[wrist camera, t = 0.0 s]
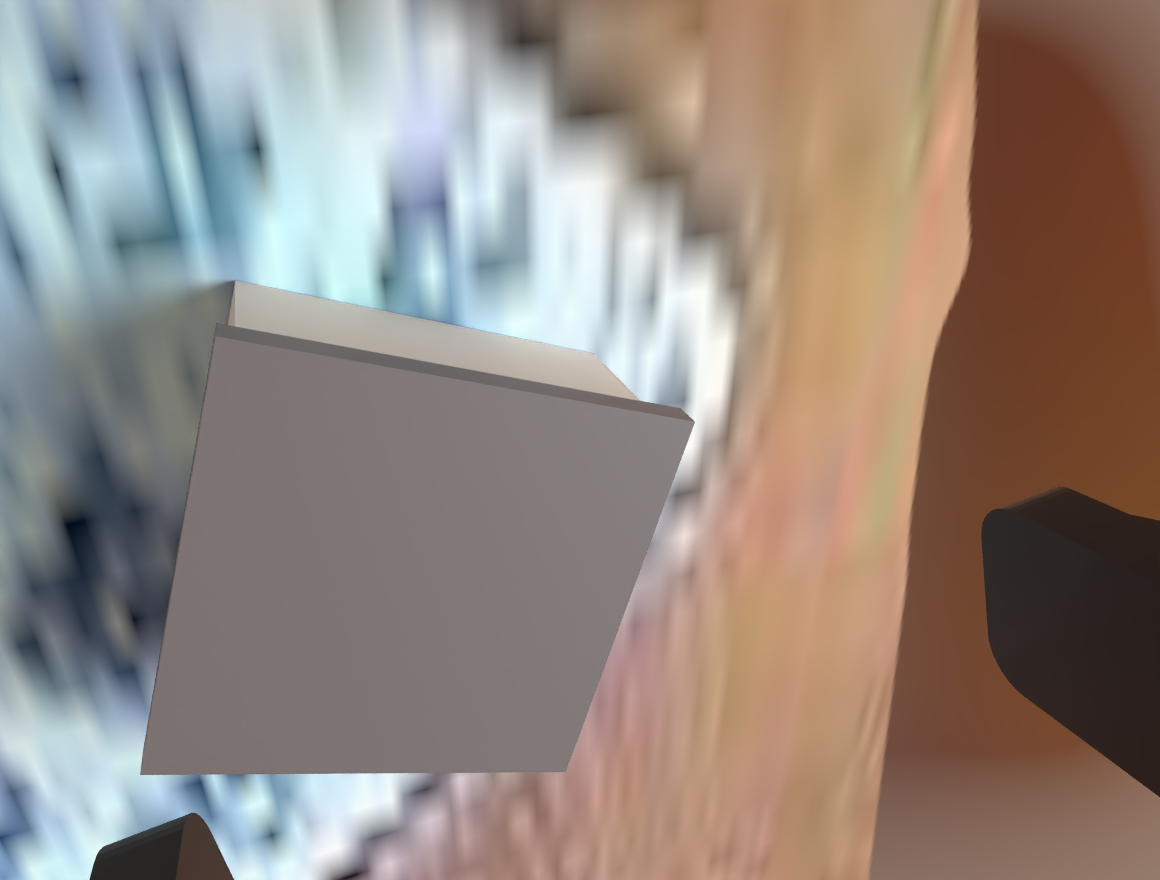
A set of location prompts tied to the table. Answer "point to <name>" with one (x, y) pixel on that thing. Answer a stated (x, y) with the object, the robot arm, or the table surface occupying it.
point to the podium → (400, 546)
